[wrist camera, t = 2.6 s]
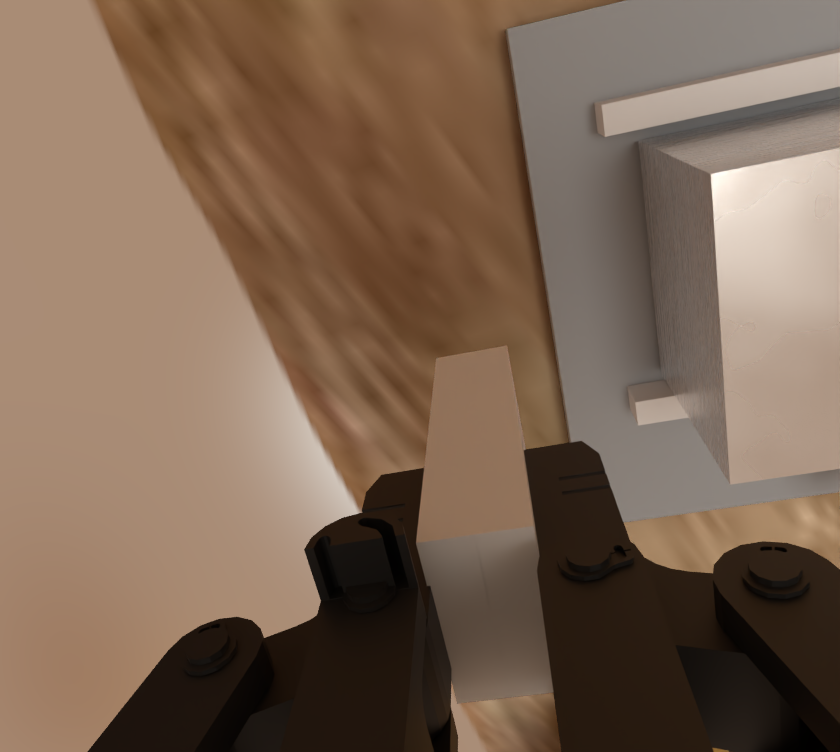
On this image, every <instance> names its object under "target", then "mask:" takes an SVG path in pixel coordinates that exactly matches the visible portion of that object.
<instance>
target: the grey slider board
mask: <svg viewBox="0 0 840 752" xmlns="http://www.w3.org/2000/svg"><path fill="white" fill-rule="evenodd" d="M505 33H506V39H507V46H508V52H509V59H510V65H511V72H512V78H513V84H514V91H515V97H516V104H517V110H518V117H519V123H520V129H521V136H522V142H523V149H524V155H525V162H526V168H527V174H528V181H529V187H530V194H531V200H532V207H533V213H534V219H535V226H536V232H537V239H538V245H539V252H540V258H541V264H542V271H543V277H544V284H545V290H546V297H547V303H548V309H549V316H550V322H551V329H552V335H553V342H554V348H555V354H556V361H557V367H558V374H559V380H560V386H561V393H562V399H563V406H564V412H565V419H566V425H567V431H568V438H569V443H571V442H577V441H583V442H584V443H586V444H587V445H588V446H590V447H591V448H592V449H594V450H595V451H597V452H598V453H599V454H600V457H601V460H602V463H603V466H604V469H605V473H606V474H607V477H608V480H609V483H610V487H611V489H612V491H613V494H614V497H615V500H616V503H617V506H618V509H619V511H620V514H621V517H622V520H623V522H631V521H638V520H645V519H652V518H659V517H666V516H673V515H680V514H687V513H694V512H701V511H708V510H715V509H722V508H730V507H737V506H744V505H751V504H758V503H765V502H772V501H779V500H786V499H793V498H800V497H807V496H814V495H822V494H829V493H836V492H840V469H834V470H827V471H821V472H814V473H807V474H800V475H793V476H786V477H779V478H772V479H766V480H759V481H752V482H745V483H738V484H731V485H730V484H729V482H728V480H727V479H726V477H725V476H724V474H723V472H722V471H721V469H720V467H719V466H718V464H717V463H716V461H715V459H714V458H713V456H712V455H711V453H710V451H709V450H708V448H707V447H706V445H705V443H704V442H703V440H702V438H701V437H700V435H699V434H698V432H697V430H696V429H695V427H694V426H693V424H692V422H691V421H690V419H689V418H688V416H687V414H686V413H685V411H684V409H683V408H682V406H681V405H680V403H679V401H678V400H677V398H676V397H675V395H674V393H673V392H672V390H671V389H670V387H669V385H668V384H667V382H666V380H665V379H664V377H663V376H662V374H661V369H660V359H659V349H658V339H657V328H656V318H655V308H654V298H653V287H652V277H651V267H650V257H649V246H648V236H647V226H646V216H645V205H644V195H643V185H642V174H641V164H640V154H639V144H638V141H640V140H645V139H650V138H654V137H659V136H664V135H668V134H673V133H678V132H683V131H687V130H692V129H697V128H701V127H706V126H711V125H715V124H720V123H725V122H730V121H734V120H739V119H744V118H748V117H753V116H758V115H762V114H767V113H772V112H777V111H781V110H786V109H791V108H795V107H800V106H805V105H810V104H814V103H819V102H824V101H828V100H833V99H838V98H840V0H626V1H621V2H617V3H613V4H609V5H605V6H600V7H596V8H592V9H588V10H584V11H580V12H575V13H571V14H567V15H563V16H559V17H555V18H550V19H546V20H542V21H538V22H534V23H529V24H525V25H521V26H517V27H513V28H509V29H506V30H505Z"/></svg>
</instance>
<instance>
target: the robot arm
mask: <svg viewBox="0 0 840 752" xmlns="http://www.w3.org/2000/svg"><path fill="white" fill-rule="evenodd" d="M304 550H305V553H306V556H307V559H308V562H309V565H310V569H311V572H312V575H313V578H314V581H315V584H316V587H317V590H318V593H319V596H320V599H321V603H320V606H319V610H318V614H317V616H315V617H314V618H313V619H311V620H309V621H307V622H304V623H302V624H300V625H298V626H296V627H293V628H291V629H288V630H285V631H282V632H280V633H277V634H274V635H271V636H269V637H266V638H264V637H263V634H262V632H261V629H260V628H259V627H258V626H257V625H256V624H255V623H254V622H253V621H252V620H248V619H244V618H240V617H232V618H223V619H218V620H215V621H212V622H209V623H207V624H204V625H201V626H199V627H198V628H196V629H194V630H193V631H191V632H190V633H188V634H186V635H185V636H183V637H182V638H181V639H180V640H179V641H178V642H177V643H176V644H175V645H173V647H171V648H170V649H169V650H168V652H167V653H166V654H165V655H164V656H163V658H162V659H161V660H160V662H159V663H158V664H157V665H156V666H155V668H154V669H153V670H152V672H151V673H150V674H149V675H148V677H147V678H146V679H145V680H144V682H143V683H142V684H141V685H140V687H139V688H138V689H137V690H136V692H135V693H134V694H133V695H132V697H131V698H130V699H129V701H128V702H127V703H126V704H125V705H124V707H123V708H122V709H121V710H120V712H119V713H118V714H117V715H116V717H115V718H114V719H113V721H112V722H111V723H110V724H109V725H108V727H107V728H106V729H105V731H104V732H103V733H102V734H101V736H100V737H99V738H98V739H97V741H96V742H95V743H94V744H93V746H92V747H91V748H90V749H89V751H88V752H458V735H457V730H456V726H455V722H454V718H453V714H452V711H451V681H452V685H453V689H454V692H455V696H456V700H457V704H458V703H467V702H476V701H485V700H493V699H502V698H511V697H520V696H528V695H537V694H546V693H554V700H555V707H556V714H557V722H558V729H559V736H560V744H561V751H562V752H714V751H713V748H717V749H722V750H728V751H729V752H840V569H838V568H837V567H836V566H835V565H834V564H832V563H831V562H830V561H829V560H827V559H825V558H823V557H822V556H820V555H818V554H816V553H815V552H813V551H811V550H809V549H806V548H802V547H799V546H795V545H792V544H788V543H778V542H757V543H751V544H745V545H740V546H738V547H736V548H734V549H732V550H730V551H728V552H726V553H724V554H723V555H722V556H721V557H720V559H719V560H718V561H717V562H716V563H715V565H714V571H713V574H712V573H700V572H688V571H681V570H675V569H670V568H667V567H664V566H661V565H658V564H655V563H653V562H652V561H650V560H648V559H646V558H644V557H643V555H642V554H641V553H640V551H639V550H638V548H637V547H636V546H635V544H633V543H631V542H630V540H629V537H628V534H627V531H626V529H625V526H624V523H623V520H622V517H621V514H620V511H619V509H618V506H617V503H616V500H615V497H614V494H613V491H612V489H611V487H610V483H609V480H608V477H607V474H606V473H605V469H604V466H603V463H602V460H601V457H600V454H599V453H598V452H597V451H595V450H594V449H592V448H591V447H590V446H588V445H587V444H586V443H584V442H583V441H577V442H571V443H564V444H558V445H552V446H546V447H540V448H533V449H527V450H526V447H525V442H524V436H523V431H522V425H521V420H520V414H519V409H518V403H517V398H516V392H515V387H514V381H513V376H512V370H511V365H510V359H509V354H508V348H507V345H506V346H501V347H495V348H490V349H484V350H479V351H473V352H467V353H462V354H456V355H451V356H445V357H440V358H436V365H435V374H434V383H433V393H432V402H431V411H430V420H429V429H428V438H427V447H426V456H425V466H424V468H422V469H416V470H409V471H403V472H397V473H391V474H384V475H381V476H380V477H379V478H378V480H377V481H376V482H375V483H374V484H373V485H372V486H371V488H370V489H369V490H368V491H367V492H366V496H365V500H364V504H363V508H362V513H359V514H356V515H352V516H348V517H344V518H341V519H339V520H337V521H335V522H333V523H331V524H330V525H327V526H325V527H324V528H323V529H322V530H320V531H319V532H318V533H317V534H315V535H314V536H313V537H312V538H311V539H310V541H309V543H308V544H307V546H306V548H305V549H304Z"/></svg>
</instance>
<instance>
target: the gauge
mask: <svg viewBox="0 0 840 752" xmlns="http://www.w3.org/2000/svg"><path fill="white" fill-rule="evenodd" d="M638 144H639V154H640V164H641V174H642V185H643V195H644V205H645V216H646V226H647V236H648V246H649V257H650V267H651V277H652V287H653V298H654V308H655V318H656V328H657V339H658V349H659V359H660V369H661V374H662V376H663V377H664V379H665V380H666V382H667V384H668V385H669V387H670V389H671V390H672V392H673V393H674V395H675V397H676V398H677V400H678V401H679V403H680V405H681V406H682V408H683V409H684V411H685V413H686V414H687V416H688V418H689V419H690V421H691V422H692V424H693V426H694V427H695V429H696V430H697V432H698V434H699V435H700V437H701V438H702V440H703V442H704V443H705V445H706V447H707V448H708V450H709V451H710V453H711V455H712V456H713V458H714V459H715V461H716V463H717V464H718V466H719V467H720V469H721V471H722V472H723V474H724V476H725V477H726V479H727V480H728V482H729V484H730V485H731V484H738V483H745V482H752V481H759V480H766V479H772V478H779V477H786V476H793V475H800V474H807V473H814V472H821V471H827V470H834V469H840V98H838V99H833V100H828V101H824V102H819V103H814V104H810V105H805V106H800V107H795V108H791V109H786V110H781V111H777V112H772V113H767V114H762V115H758V116H753V117H748V118H744V119H739V120H734V121H730V122H725V123H720V124H715V125H711V126H706V127H701V128H697V129H692V130H687V131H683V132H678V133H673V134H668V135H664V136H659V137H654V138H650V139H645V140H640V141H638ZM839 508H840V494H839Z"/></svg>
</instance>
